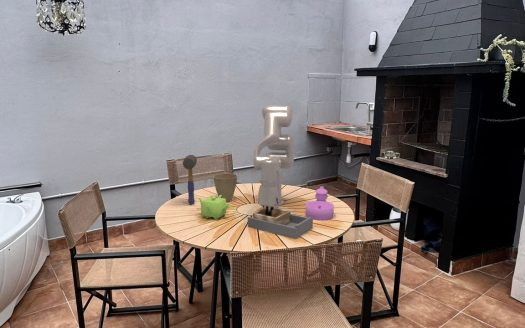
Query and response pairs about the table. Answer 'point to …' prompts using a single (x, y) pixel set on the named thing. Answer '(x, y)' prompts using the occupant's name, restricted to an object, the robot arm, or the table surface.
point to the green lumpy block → (213, 207)
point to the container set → (320, 206)
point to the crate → (274, 216)
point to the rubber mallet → (190, 176)
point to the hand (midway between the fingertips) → (268, 217)
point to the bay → (284, 226)
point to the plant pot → (225, 185)
